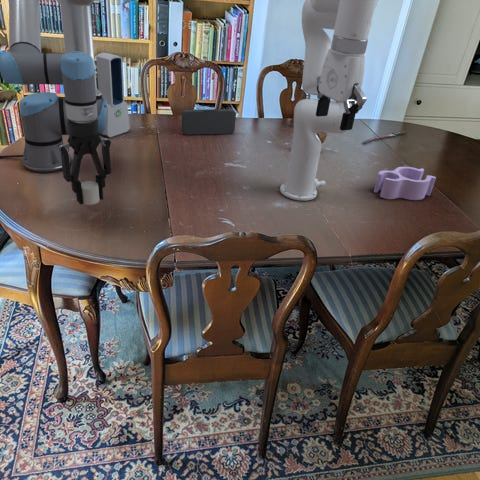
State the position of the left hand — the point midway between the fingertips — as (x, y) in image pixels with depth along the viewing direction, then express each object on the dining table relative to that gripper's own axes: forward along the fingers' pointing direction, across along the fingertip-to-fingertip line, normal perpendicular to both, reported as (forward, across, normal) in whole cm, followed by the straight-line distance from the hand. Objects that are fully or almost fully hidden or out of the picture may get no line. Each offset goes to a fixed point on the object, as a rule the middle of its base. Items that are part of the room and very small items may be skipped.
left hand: (90, 199), depth 131 cm
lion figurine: (+5, +96, +11) cm, 97 cm away
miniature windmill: (+5, +115, +36) cm, 120 cm away
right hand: (-31, +45, -43) cm, 69 cm away
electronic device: (+5, +32, +59) cm, 68 cm away
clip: (+5, +100, -33) cm, 106 cm away
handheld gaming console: (+5, +68, +43) cm, 81 cm away
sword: (+5, +140, +6) cm, 141 cm away
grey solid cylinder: (0, 0, 0) cm, 0 cm away
